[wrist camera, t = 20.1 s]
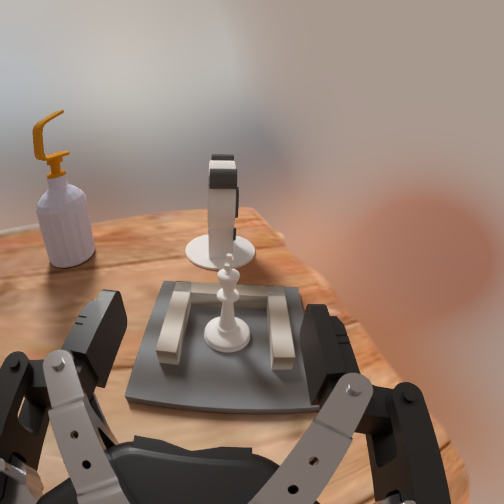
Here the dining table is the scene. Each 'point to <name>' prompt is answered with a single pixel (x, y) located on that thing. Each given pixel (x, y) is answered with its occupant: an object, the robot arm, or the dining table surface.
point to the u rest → (222, 353)
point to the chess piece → (227, 315)
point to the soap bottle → (62, 210)
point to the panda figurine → (221, 220)
